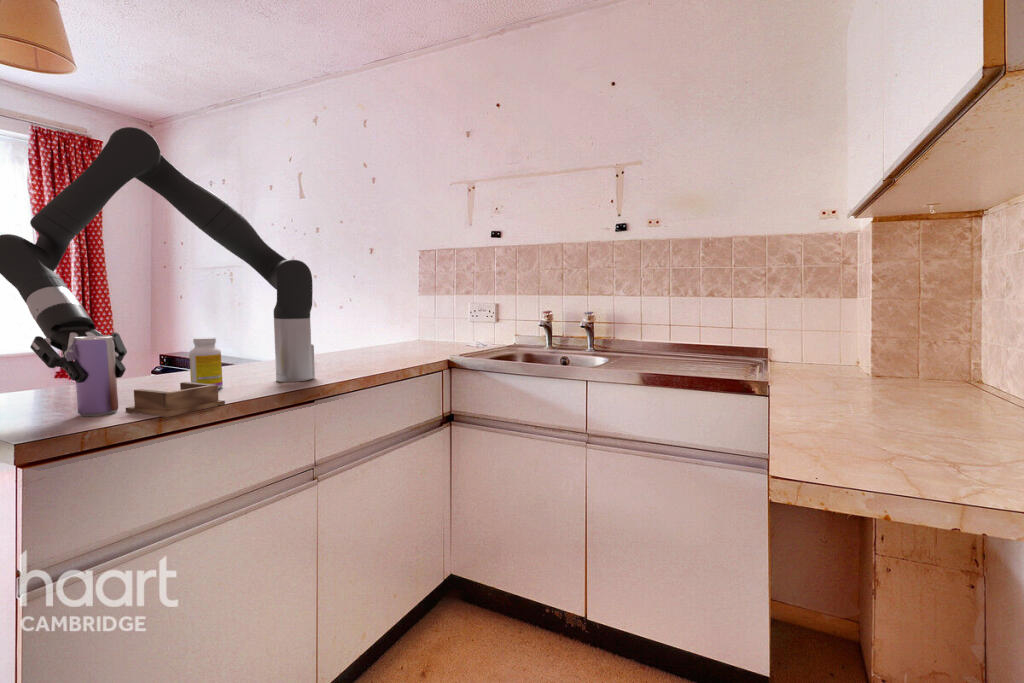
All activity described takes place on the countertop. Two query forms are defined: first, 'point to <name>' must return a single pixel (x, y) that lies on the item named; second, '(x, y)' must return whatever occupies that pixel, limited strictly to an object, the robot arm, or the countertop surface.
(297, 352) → the robot arm
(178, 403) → the cradle
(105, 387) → the lavender tall block
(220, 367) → the supplement bottle
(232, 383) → the countertop surface
